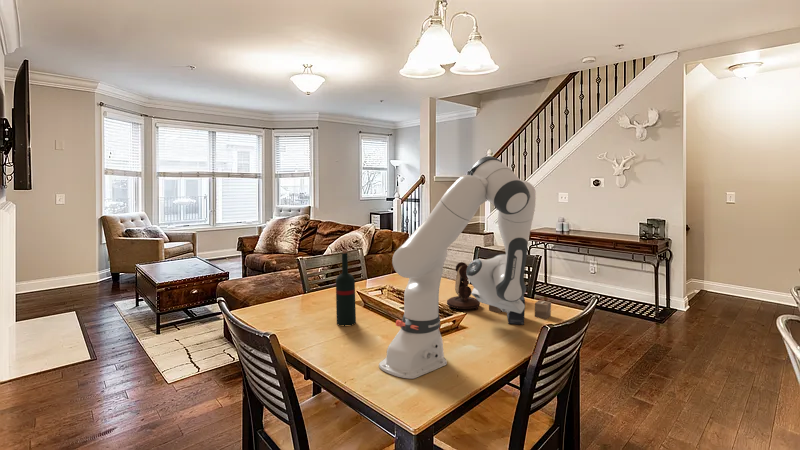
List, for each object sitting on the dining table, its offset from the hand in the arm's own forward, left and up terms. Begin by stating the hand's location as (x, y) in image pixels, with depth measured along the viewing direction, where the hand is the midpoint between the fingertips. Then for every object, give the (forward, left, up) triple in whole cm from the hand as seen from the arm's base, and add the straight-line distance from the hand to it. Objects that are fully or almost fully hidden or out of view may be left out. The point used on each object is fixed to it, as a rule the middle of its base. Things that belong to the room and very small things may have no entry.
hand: (506, 311), depth 165 cm
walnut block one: (+18, -8, -5) cm, 20 cm away
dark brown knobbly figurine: (+9, +25, -6) cm, 27 cm away
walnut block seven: (+14, +11, -5) cm, 18 cm away
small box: (+6, -1, -6) cm, 8 cm away
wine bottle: (-37, +53, -6) cm, 65 cm away
